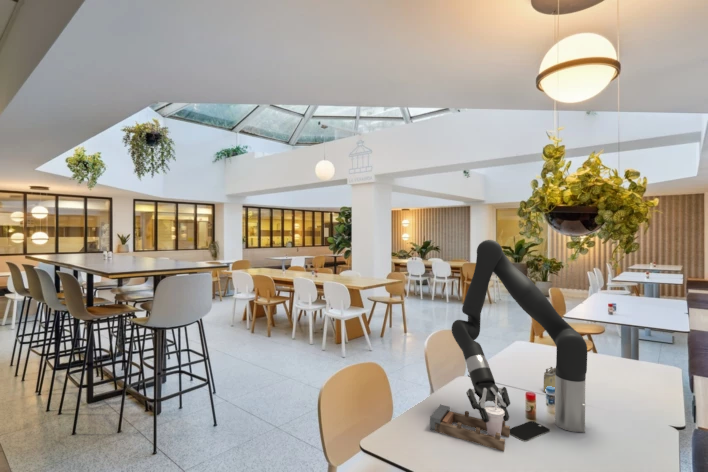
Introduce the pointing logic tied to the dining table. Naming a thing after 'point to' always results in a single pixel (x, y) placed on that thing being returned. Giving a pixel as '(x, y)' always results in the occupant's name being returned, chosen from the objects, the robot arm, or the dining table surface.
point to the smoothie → (494, 419)
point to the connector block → (438, 416)
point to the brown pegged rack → (472, 435)
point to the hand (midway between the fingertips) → (496, 420)
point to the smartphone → (528, 431)
